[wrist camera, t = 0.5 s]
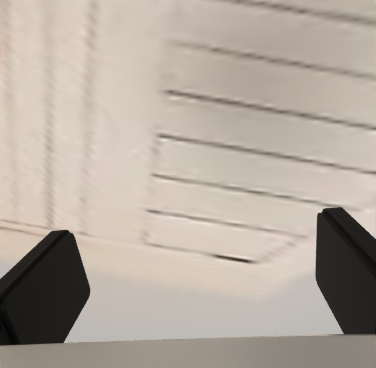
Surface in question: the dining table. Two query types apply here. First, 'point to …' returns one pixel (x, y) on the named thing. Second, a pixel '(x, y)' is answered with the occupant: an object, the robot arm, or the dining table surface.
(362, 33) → the dining table surface
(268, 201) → the dining table surface
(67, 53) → the dining table surface
